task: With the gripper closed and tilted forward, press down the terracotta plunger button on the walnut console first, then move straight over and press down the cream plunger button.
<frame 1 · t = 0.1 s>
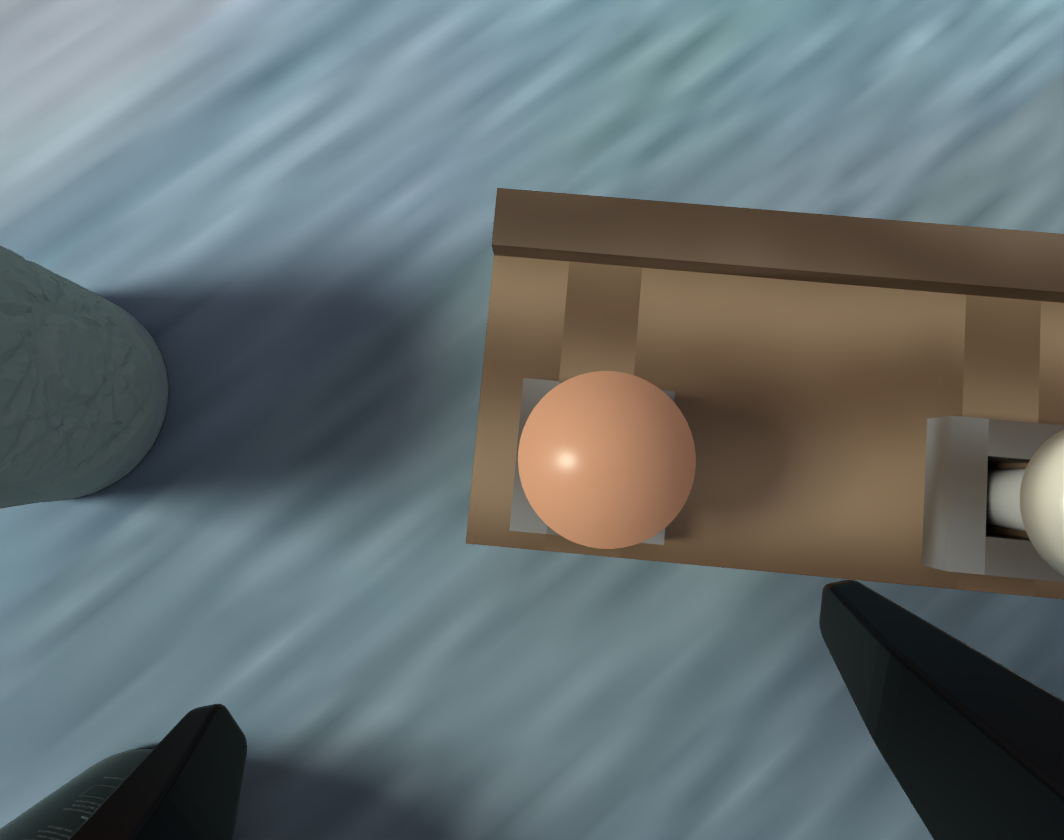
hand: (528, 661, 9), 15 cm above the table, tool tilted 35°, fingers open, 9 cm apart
button terracotta: (595, 460, 18), point 6 cm above the table, slide at 0.0 cm
grey green plant pot: (77, 392, 24), on the table
console: (754, 477, 23), on the table
button cream: (1055, 501, 18), point 6 cm above the table, slide at 0.0 cm
supplement bottle: (152, 830, 23), on the table
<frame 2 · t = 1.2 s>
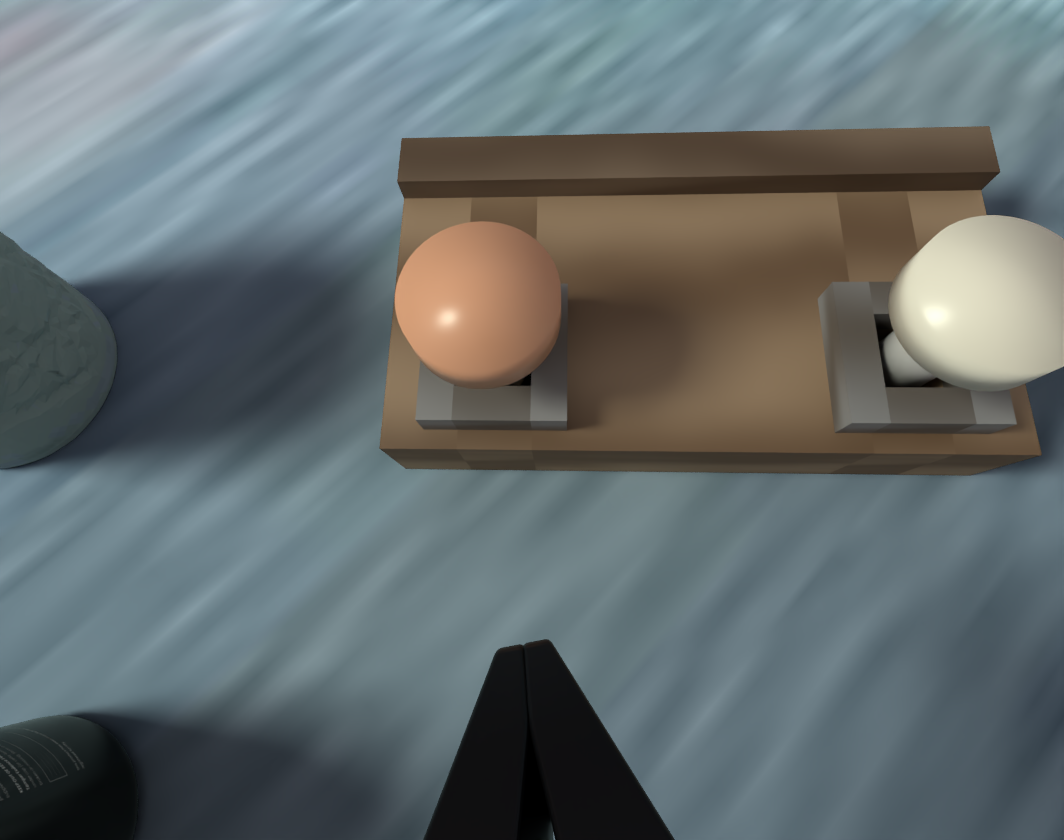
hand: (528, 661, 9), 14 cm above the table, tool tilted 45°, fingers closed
button terracotta: (490, 337, 19), point 6 cm above the table, slide at 0.0 cm
grey green plant pot: (33, 372, 26), on the table
console: (676, 395, 24), on the table
button cream: (939, 337, 18), point 6 cm above the table, slide at 0.0 cm
supplement bottle: (58, 815, 21), on the table
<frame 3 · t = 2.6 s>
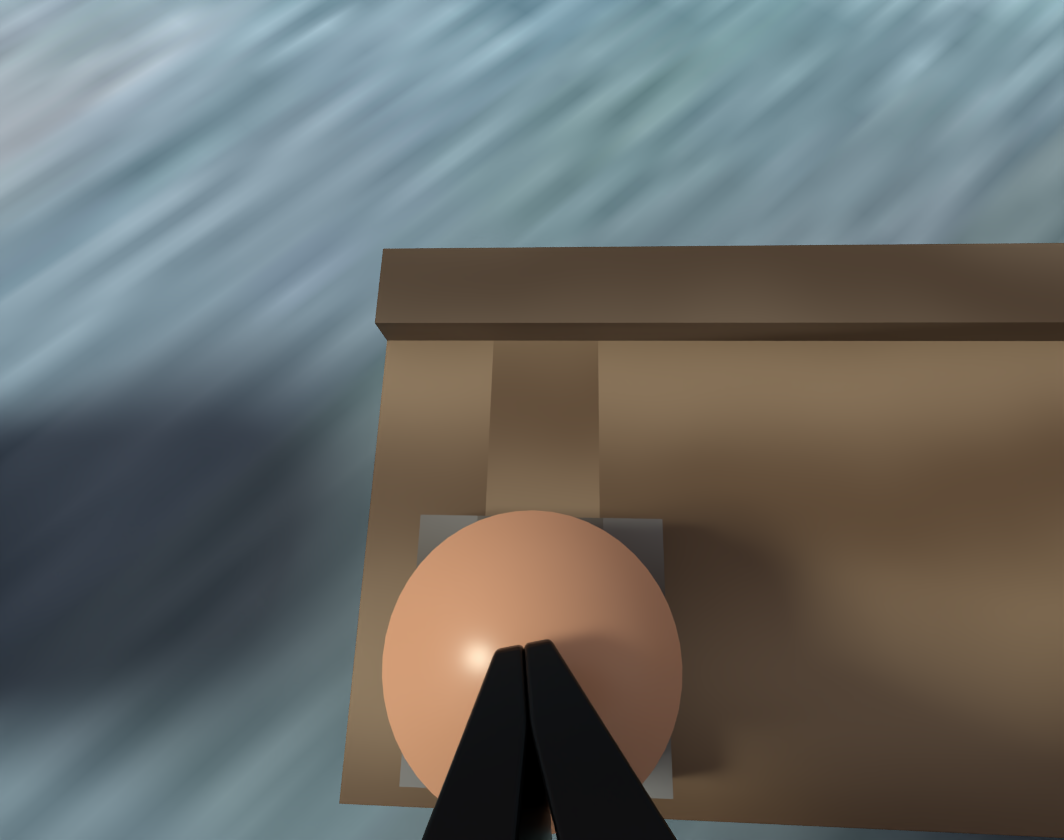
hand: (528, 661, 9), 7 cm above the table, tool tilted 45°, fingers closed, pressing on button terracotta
button terracotta: (538, 644, 12), point 4 cm above the table, slide at 1.4 cm, touching gripper
console: (808, 638, 15), on the table
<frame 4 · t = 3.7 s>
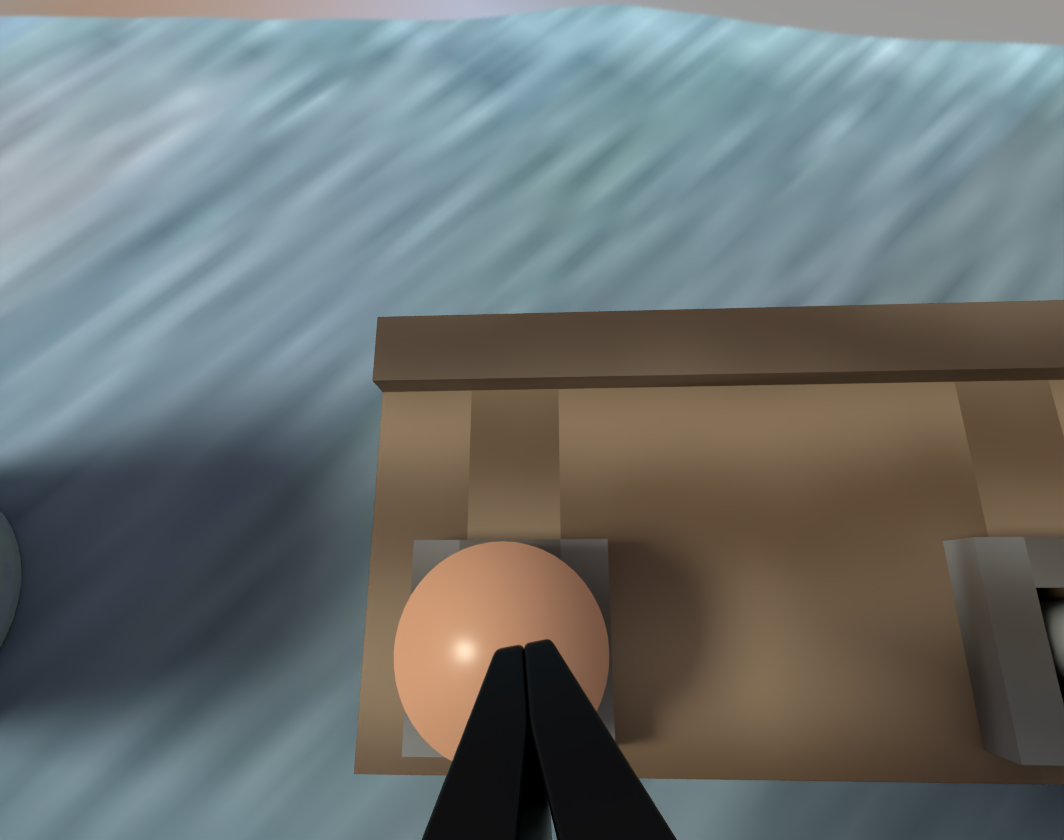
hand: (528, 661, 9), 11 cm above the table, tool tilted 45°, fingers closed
button terracotta: (512, 640, 15), point 4 cm above the table, slide at 1.9 cm
console: (742, 631, 18), on the table
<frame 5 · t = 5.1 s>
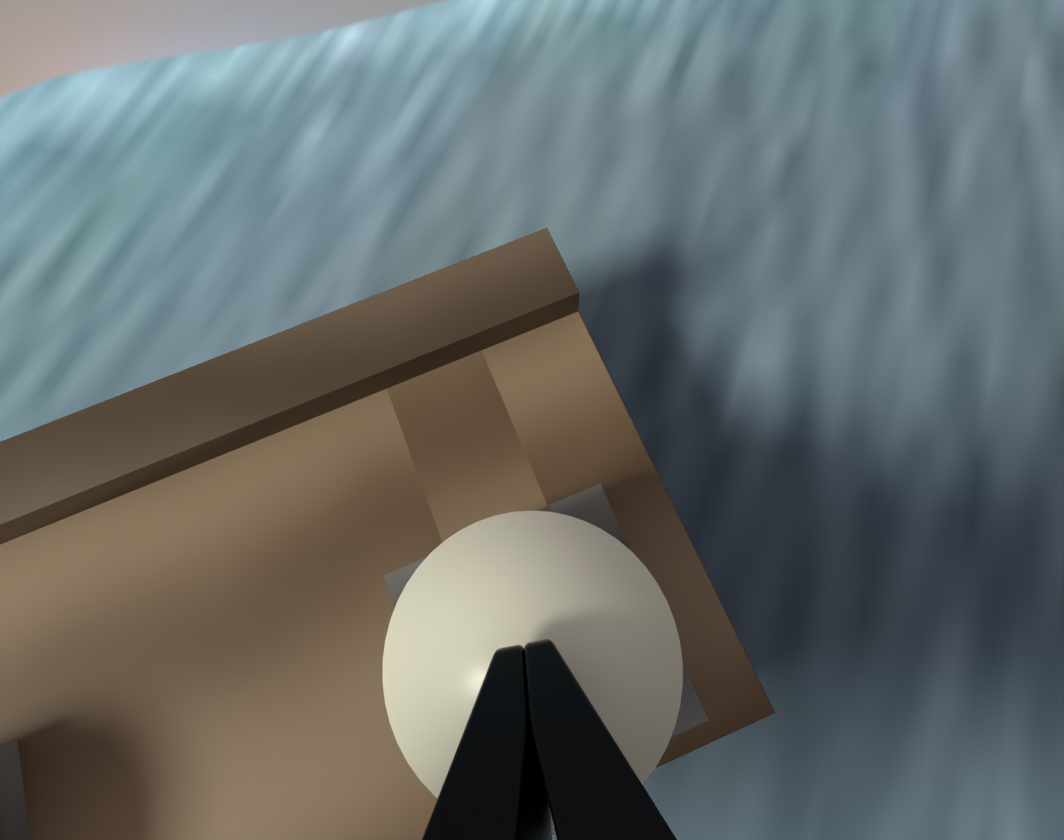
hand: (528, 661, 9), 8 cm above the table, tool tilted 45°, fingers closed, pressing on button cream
console: (308, 734, 16), on the table
button cream: (538, 644, 12), point 5 cm above the table, slide at 1.0 cm, touching gripper
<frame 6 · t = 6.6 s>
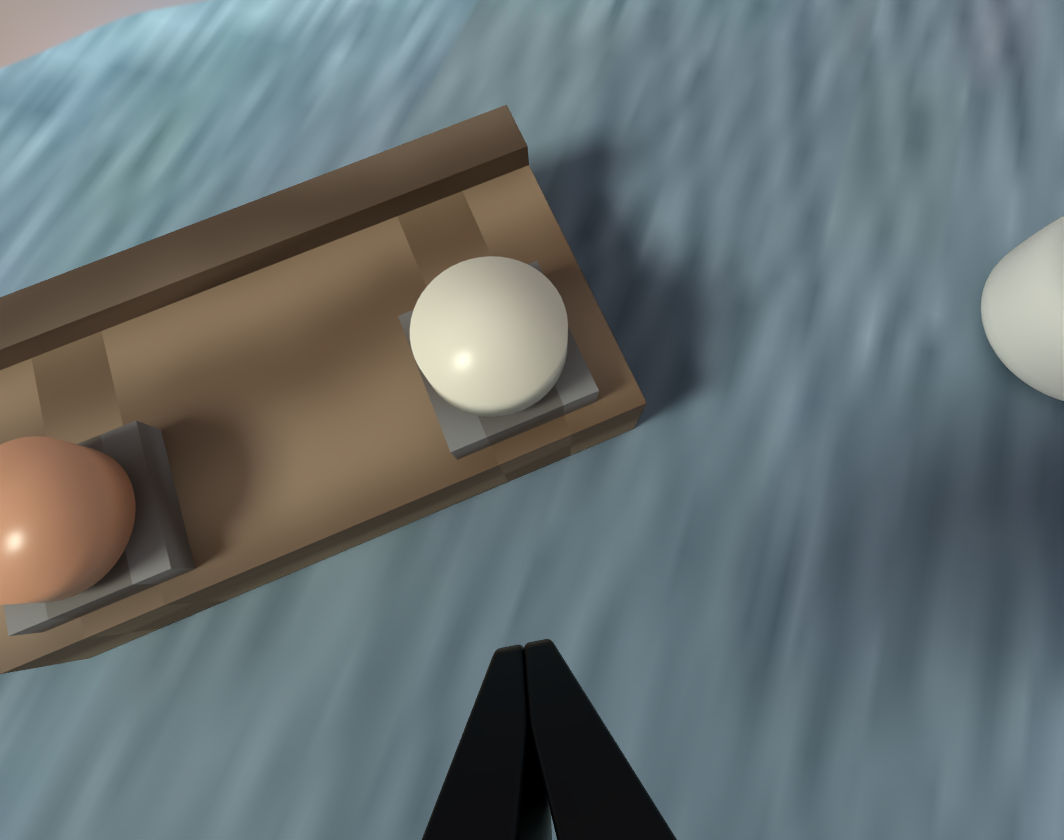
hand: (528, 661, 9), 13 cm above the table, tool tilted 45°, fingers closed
water bottle: (1060, 327, 23), on the table
button terracotta: (98, 526, 19), point 4 cm above the table, slide at 1.9 cm
console: (343, 463, 23), on the table
button cream: (498, 362, 20), point 4 cm above the table, slide at 1.9 cm
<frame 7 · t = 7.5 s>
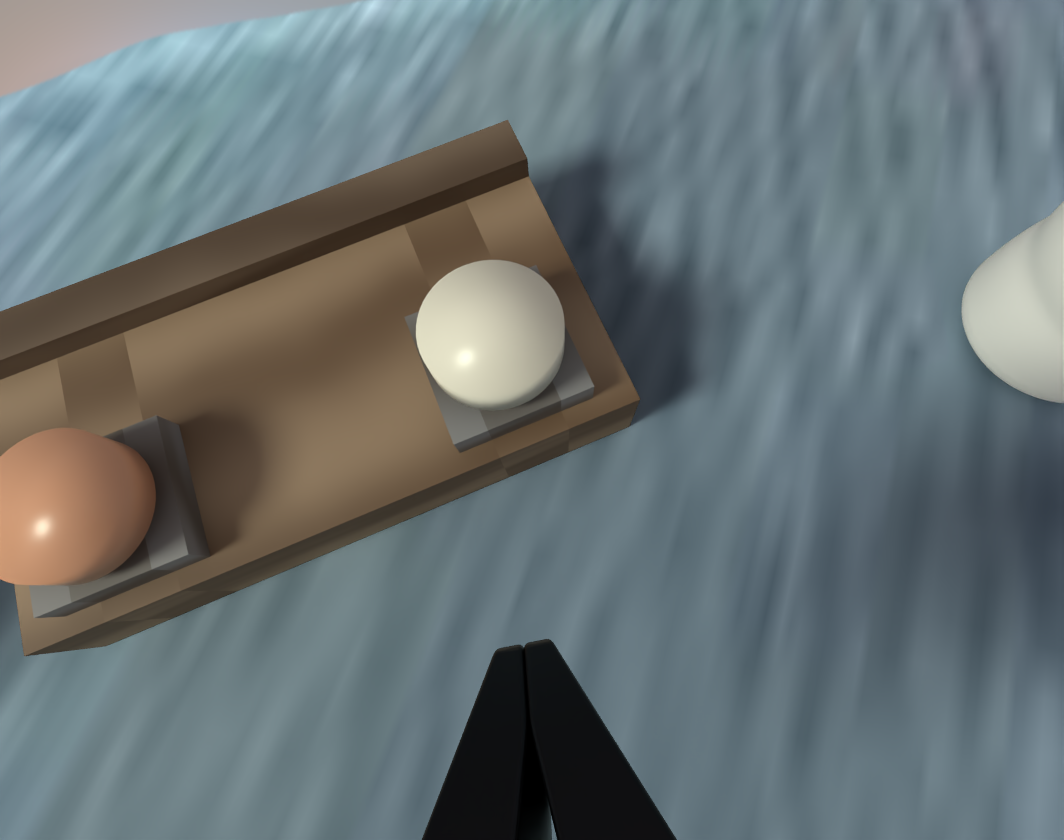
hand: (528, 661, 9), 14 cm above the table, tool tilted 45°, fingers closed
water bottle: (1038, 329, 24), on the table
button terracotta: (119, 515, 20), point 4 cm above the table, slide at 1.9 cm
console: (351, 460, 24), on the table
button cream: (499, 361, 21), point 4 cm above the table, slide at 1.9 cm
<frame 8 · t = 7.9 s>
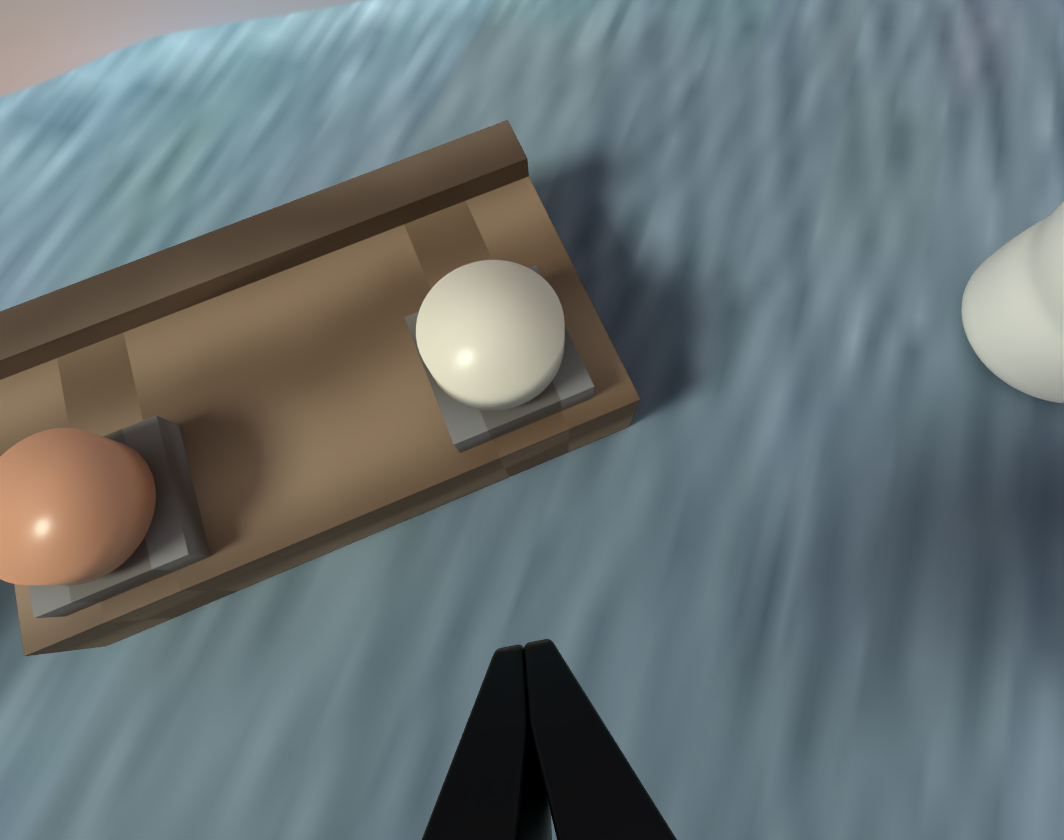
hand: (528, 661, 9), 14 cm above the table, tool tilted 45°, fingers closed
water bottle: (1038, 329, 24), on the table
button terracotta: (119, 515, 20), point 4 cm above the table, slide at 1.9 cm
console: (351, 460, 24), on the table
button cream: (499, 361, 21), point 4 cm above the table, slide at 1.9 cm
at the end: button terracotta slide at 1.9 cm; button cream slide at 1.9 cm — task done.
